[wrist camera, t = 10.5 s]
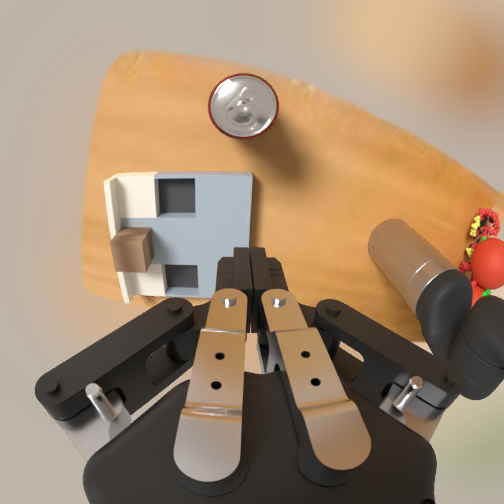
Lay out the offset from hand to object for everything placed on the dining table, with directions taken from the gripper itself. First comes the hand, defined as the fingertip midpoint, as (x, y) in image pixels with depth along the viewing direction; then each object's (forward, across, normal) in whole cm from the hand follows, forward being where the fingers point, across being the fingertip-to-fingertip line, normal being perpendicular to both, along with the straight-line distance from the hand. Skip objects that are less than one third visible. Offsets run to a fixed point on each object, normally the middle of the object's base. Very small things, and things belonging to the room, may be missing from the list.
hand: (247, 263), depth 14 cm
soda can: (+29, 0, -8) cm, 30 cm away
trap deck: (+29, +8, +12) cm, 33 cm away
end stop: (+26, +18, +12) cm, 34 cm away
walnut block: (+26, +16, +12) cm, 33 cm away
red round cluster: (+29, -50, +14) cm, 60 cm away
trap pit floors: (+29, +9, +12) cm, 33 cm away
